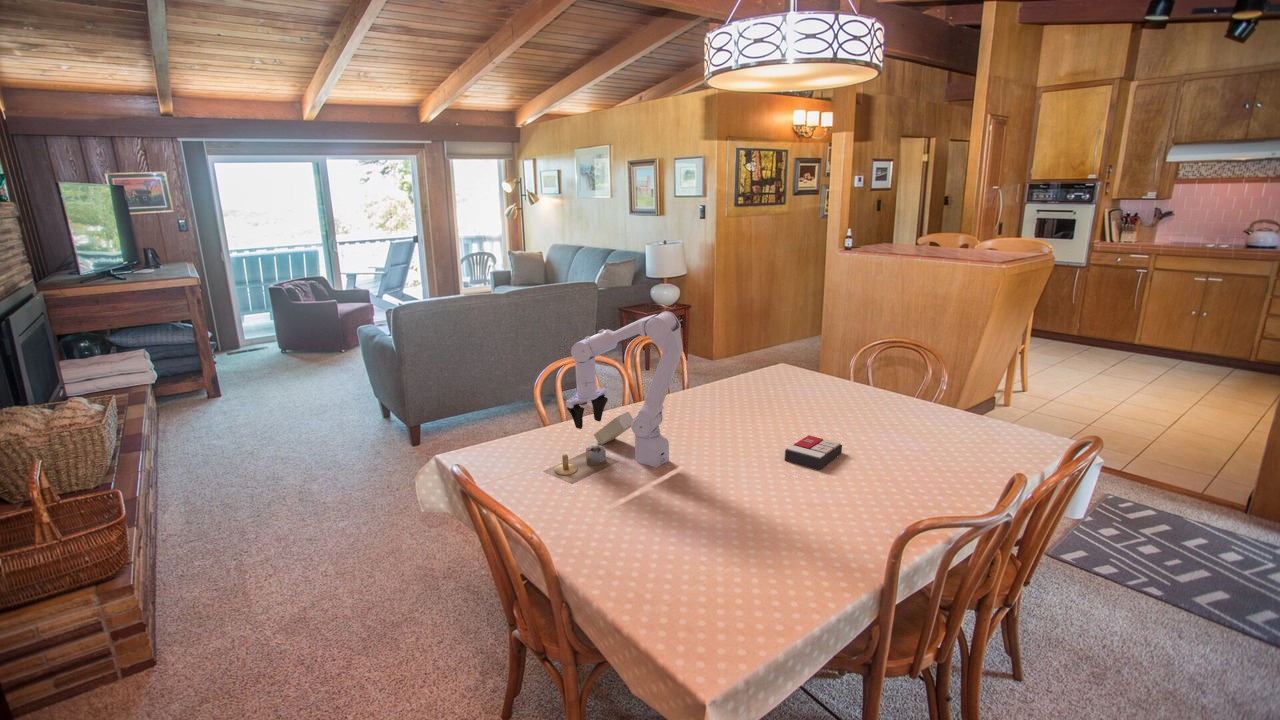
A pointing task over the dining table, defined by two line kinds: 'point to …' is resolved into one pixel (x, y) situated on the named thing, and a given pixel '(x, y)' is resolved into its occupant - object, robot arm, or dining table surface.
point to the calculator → (813, 452)
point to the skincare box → (614, 428)
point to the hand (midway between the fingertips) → (588, 424)
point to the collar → (596, 456)
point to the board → (576, 468)
